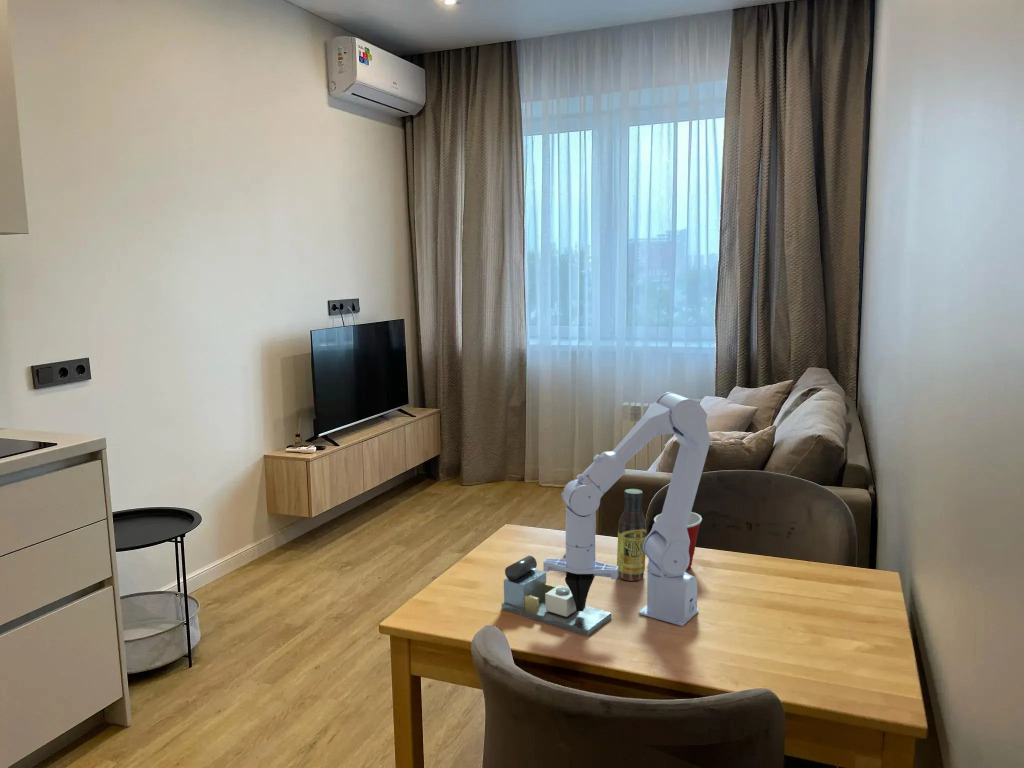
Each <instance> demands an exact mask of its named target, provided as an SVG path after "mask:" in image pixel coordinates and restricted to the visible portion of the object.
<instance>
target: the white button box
mask: <svg viewBox="0 0 1024 768" xmlns="http://www.w3.org/2000/svg"><path fill="white" fill-rule="evenodd" d="M556 586H557V587H555V588H554V589H552V590H550V591H549V592H547V593H546V594H545V605H546V611H549V612H553V613H556V614H559V615H562V616H566V617H567V616H569V615H570V614H572V613H573V612H574V611H576V606H575V602H574V598H573V596H572V593H571V591H570V589H569V587H568V586H564V585H561V584H559V585H556Z"/></svg>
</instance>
